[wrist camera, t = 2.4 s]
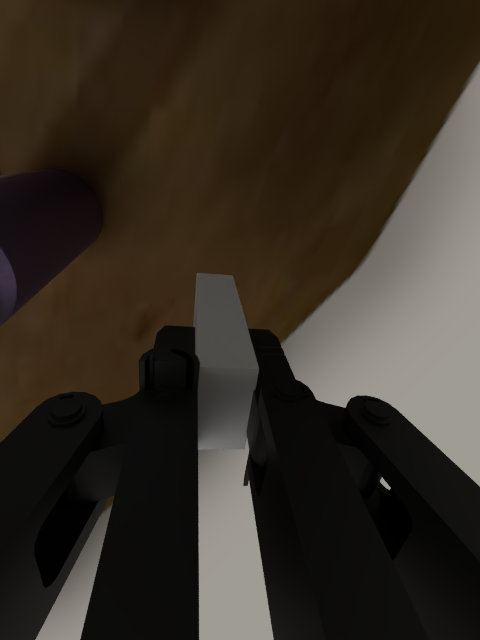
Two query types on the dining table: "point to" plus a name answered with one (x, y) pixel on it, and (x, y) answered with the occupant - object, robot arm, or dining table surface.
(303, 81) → the dining table surface
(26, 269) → the beverage can
